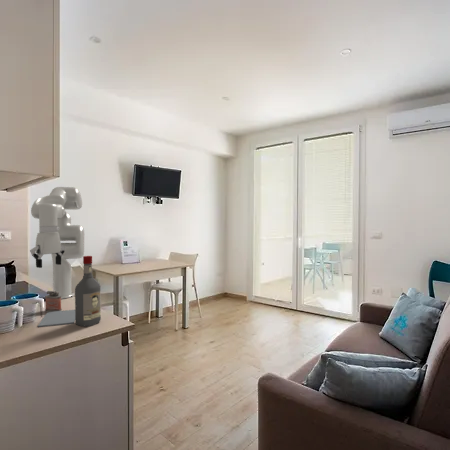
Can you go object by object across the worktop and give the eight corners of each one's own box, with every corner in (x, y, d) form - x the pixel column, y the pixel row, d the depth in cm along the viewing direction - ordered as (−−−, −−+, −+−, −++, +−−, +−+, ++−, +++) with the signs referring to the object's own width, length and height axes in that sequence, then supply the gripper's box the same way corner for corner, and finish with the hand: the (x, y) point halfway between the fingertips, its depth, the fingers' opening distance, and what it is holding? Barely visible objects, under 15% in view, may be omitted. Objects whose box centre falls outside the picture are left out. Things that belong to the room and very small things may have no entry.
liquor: (72, 324, 139) (71, 256, 138) (90, 318, 147) (89, 254, 146) (86, 327, 135) (85, 258, 134) (103, 321, 143) (103, 255, 142)
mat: (47, 313, 154) (47, 311, 154) (78, 310, 159) (78, 309, 159) (38, 327, 135) (38, 325, 135) (73, 323, 140) (73, 322, 140)
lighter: (63, 309, 159) (62, 290, 159) (58, 312, 156) (58, 292, 156) (48, 309, 160) (47, 289, 160) (43, 311, 157) (43, 291, 157)
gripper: (59, 228, 157) (60, 262, 158) (25, 230, 142) (25, 268, 142) (70, 229, 154) (70, 264, 155) (35, 230, 138) (36, 269, 139)
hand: (49, 265), depth 148 cm, fingers open, 9 cm apart
